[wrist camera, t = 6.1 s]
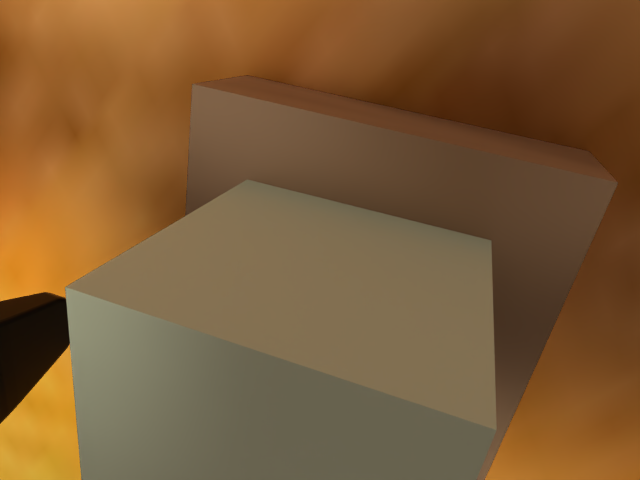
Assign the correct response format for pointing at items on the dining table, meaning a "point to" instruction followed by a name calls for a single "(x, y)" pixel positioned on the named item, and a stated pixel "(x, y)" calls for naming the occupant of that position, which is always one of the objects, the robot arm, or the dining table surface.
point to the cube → (286, 347)
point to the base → (417, 193)
